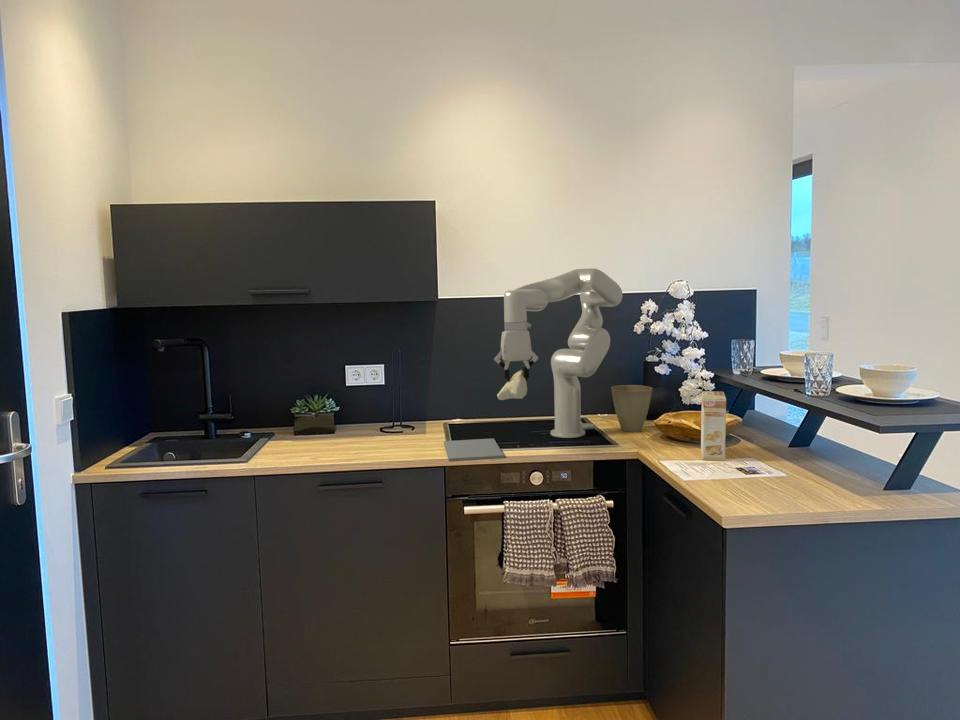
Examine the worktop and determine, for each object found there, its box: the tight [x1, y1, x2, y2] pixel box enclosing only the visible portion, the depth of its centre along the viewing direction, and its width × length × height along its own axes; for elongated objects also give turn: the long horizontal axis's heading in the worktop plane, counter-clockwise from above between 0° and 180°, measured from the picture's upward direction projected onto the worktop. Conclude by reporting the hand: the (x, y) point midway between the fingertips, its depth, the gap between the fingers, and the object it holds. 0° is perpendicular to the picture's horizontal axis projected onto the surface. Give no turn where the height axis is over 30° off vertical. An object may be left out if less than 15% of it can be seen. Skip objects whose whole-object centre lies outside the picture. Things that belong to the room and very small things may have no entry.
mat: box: [443, 438, 505, 462], centre depth 236 cm, size 18×24×1 cm
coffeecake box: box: [700, 390, 727, 462], centre depth 221 cm, size 15×7×20 cm, turn 164°
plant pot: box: [610, 384, 653, 433], centre depth 259 cm, size 15×15×16 cm
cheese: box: [496, 369, 528, 401], centre depth 234 cm, size 15×7×15 cm
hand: (516, 380), depth 235 cm, fingers closed on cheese, 5 cm apart
